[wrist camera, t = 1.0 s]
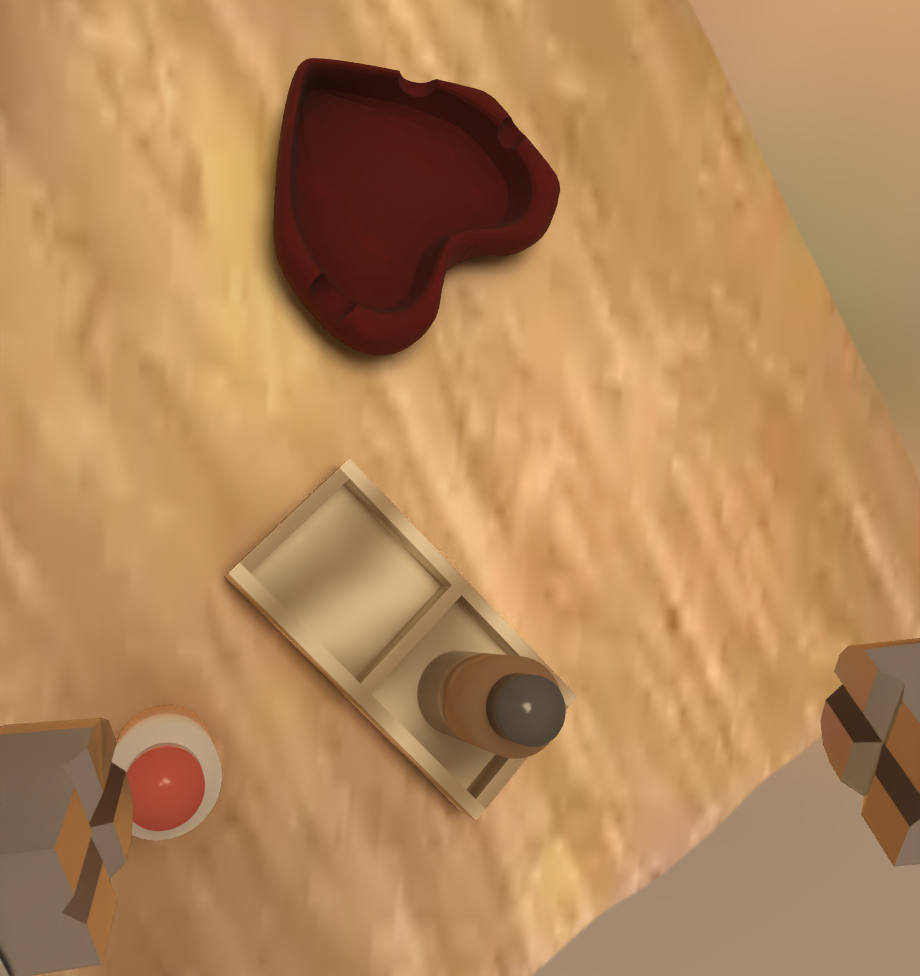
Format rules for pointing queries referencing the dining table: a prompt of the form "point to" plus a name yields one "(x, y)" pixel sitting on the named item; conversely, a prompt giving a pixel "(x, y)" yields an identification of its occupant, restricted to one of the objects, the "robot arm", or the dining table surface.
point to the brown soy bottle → (492, 701)
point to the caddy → (381, 621)
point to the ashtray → (396, 196)
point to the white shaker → (168, 771)
